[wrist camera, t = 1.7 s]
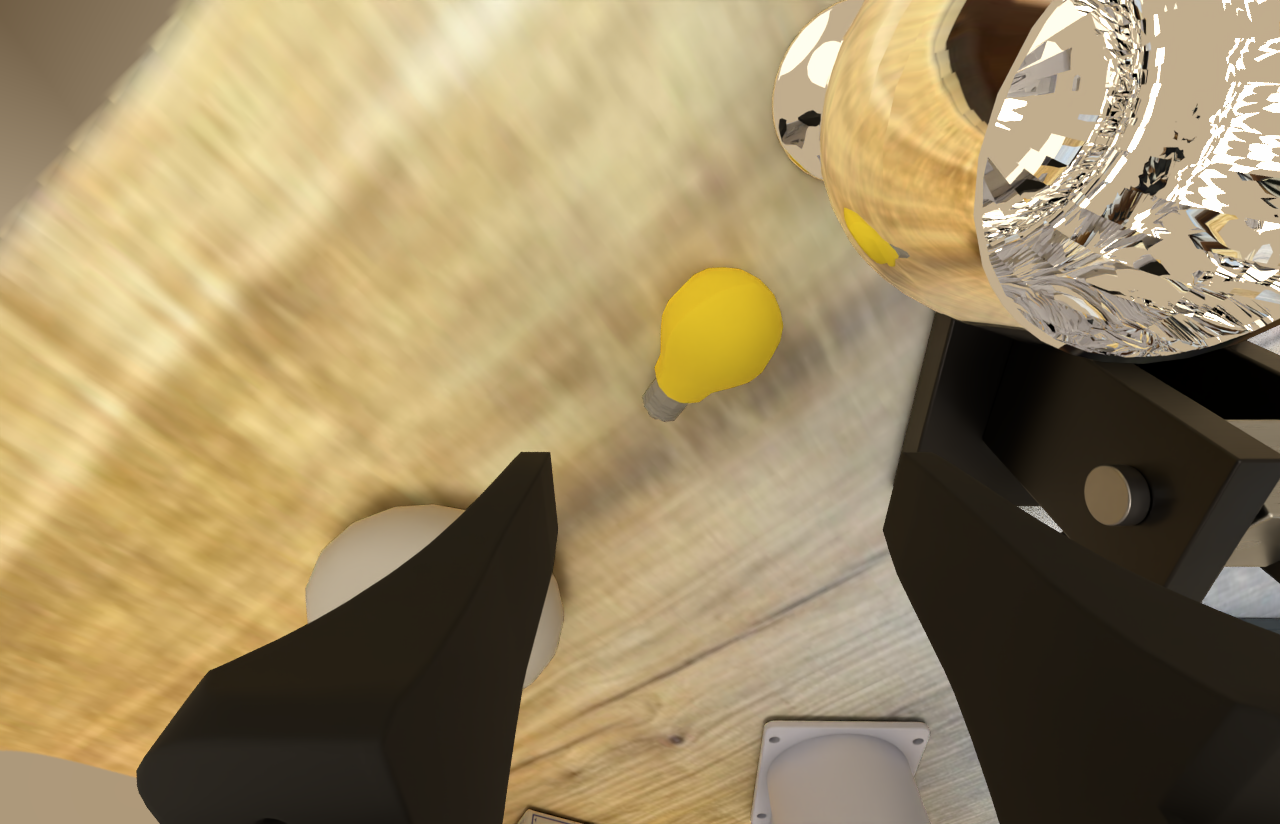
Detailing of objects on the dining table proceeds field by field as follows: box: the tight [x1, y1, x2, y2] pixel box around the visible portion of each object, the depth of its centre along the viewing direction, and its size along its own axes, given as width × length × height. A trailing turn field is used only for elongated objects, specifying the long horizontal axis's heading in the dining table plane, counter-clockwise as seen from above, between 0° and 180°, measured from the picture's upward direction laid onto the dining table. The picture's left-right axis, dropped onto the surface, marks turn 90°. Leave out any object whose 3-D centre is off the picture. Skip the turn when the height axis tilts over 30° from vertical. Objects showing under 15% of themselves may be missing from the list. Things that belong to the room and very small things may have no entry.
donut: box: [306, 504, 564, 689], centre depth 24 cm, size 10×3×10 cm
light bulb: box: [643, 267, 783, 422], centre depth 18 cm, size 3×6×4 cm, turn 152°
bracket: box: [893, 312, 1280, 603], centre depth 16 cm, size 10×9×9 cm
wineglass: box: [772, 0, 1280, 364], centre depth 11 cm, size 6×6×12 cm
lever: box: [1061, 420, 1280, 567], centre depth 16 cm, size 8×3×3 cm, turn 1°
